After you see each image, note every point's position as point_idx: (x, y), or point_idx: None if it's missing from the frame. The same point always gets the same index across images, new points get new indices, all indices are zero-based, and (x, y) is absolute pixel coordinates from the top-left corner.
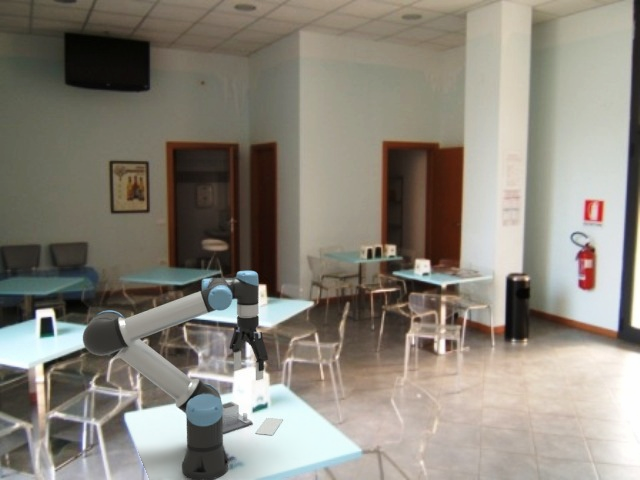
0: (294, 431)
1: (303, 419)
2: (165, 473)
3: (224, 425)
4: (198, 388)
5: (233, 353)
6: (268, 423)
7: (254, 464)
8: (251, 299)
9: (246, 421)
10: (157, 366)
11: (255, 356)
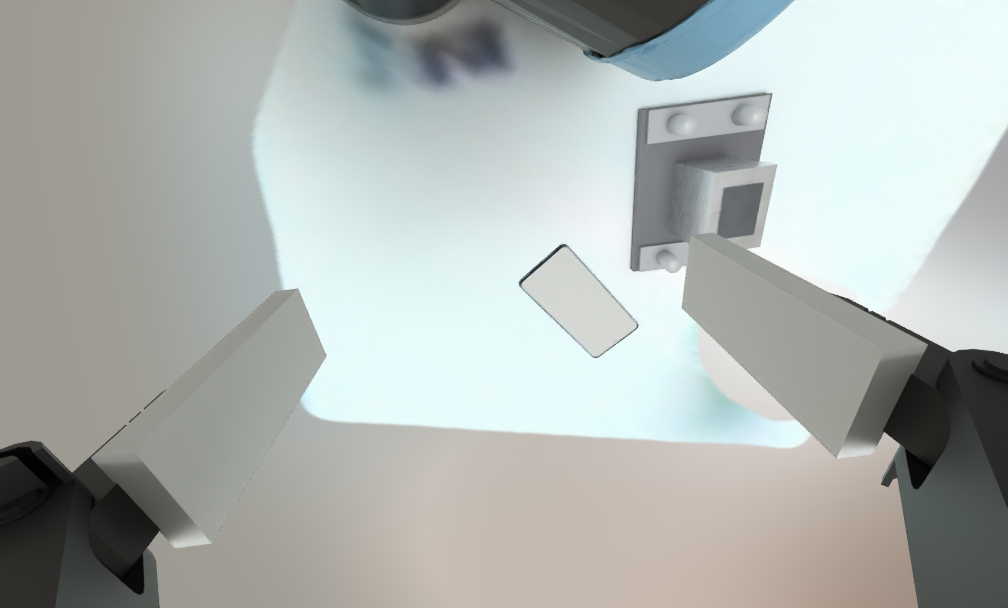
0: (504, 348)
1: (558, 400)
2: None
3: (677, 168)
4: None
5: (931, 343)
6: (601, 312)
7: (346, 125)
8: None
9: (649, 255)
10: None
11: (61, 560)
